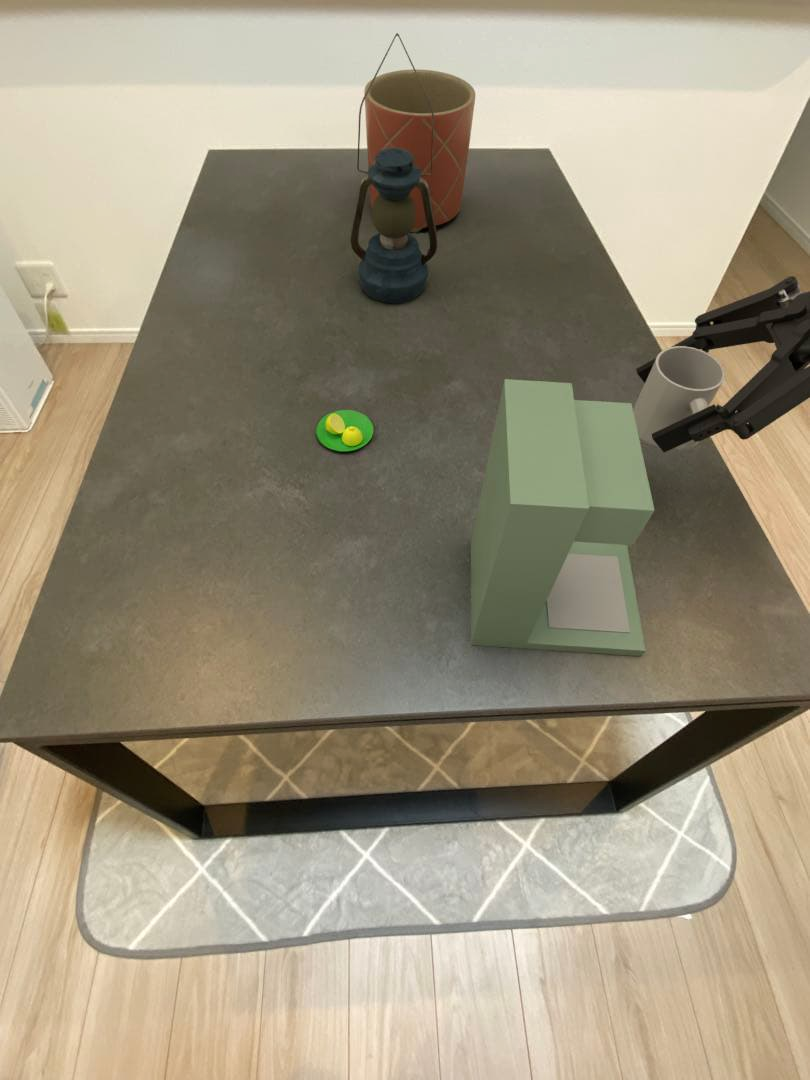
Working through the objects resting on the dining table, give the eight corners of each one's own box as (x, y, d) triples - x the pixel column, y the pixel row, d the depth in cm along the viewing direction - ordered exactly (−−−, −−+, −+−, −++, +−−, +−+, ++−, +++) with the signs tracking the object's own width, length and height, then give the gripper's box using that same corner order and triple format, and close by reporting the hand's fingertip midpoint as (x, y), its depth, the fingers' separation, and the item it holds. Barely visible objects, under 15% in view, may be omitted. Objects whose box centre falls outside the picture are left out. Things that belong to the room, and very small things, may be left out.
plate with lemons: (310, 449, 83) (308, 435, 80) (324, 409, 87) (322, 394, 85) (367, 458, 82) (366, 443, 80) (378, 417, 87) (378, 402, 84)
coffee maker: (623, 551, 75) (718, 391, 53) (641, 656, 67) (762, 519, 45) (470, 541, 75) (504, 378, 53) (470, 645, 67) (510, 503, 46)
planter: (412, 246, 112) (416, 125, 95) (347, 205, 119) (341, 86, 103) (483, 213, 119) (498, 94, 102) (418, 176, 127) (423, 60, 110)
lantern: (349, 303, 101) (333, 47, 72) (356, 263, 108) (345, 14, 79) (432, 308, 101) (450, 53, 72) (435, 268, 108) (452, 20, 79)
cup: (675, 404, 74) (707, 343, 66) (710, 465, 68) (749, 406, 61) (619, 409, 73) (645, 348, 66) (650, 471, 67) (682, 412, 60)
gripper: (951, 399, 50) (683, 503, 63) (853, 251, 63) (647, 364, 76) (934, 341, 46) (651, 467, 59) (833, 195, 58) (619, 325, 72)
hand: (649, 409), depth 67 cm, fingers closed on cup, 10 cm apart
